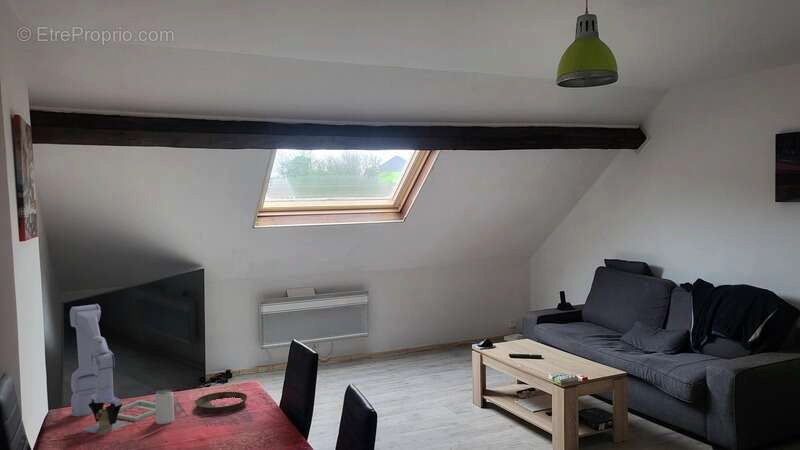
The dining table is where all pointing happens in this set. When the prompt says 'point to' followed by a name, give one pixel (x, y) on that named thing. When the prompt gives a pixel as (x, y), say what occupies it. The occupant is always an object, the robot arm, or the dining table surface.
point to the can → (164, 406)
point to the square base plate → (98, 430)
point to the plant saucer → (205, 400)
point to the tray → (142, 405)
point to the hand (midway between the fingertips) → (105, 422)
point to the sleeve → (103, 419)
